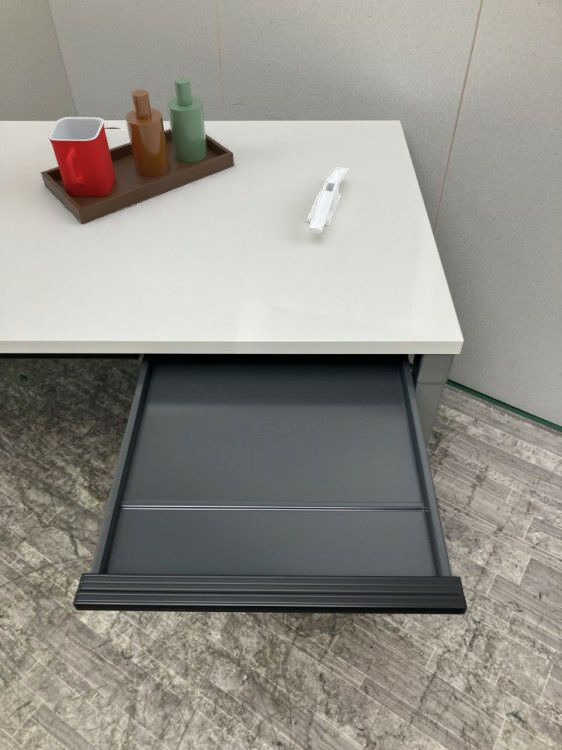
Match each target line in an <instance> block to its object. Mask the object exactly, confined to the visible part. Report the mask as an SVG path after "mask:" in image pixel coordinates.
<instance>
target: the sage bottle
mask: <svg viewBox="0 0 562 750" xmlns="http://www.w3.org/2000/svg"><path fill="white" fill-rule="evenodd" d="M173 82H174V89H175V96H173V97H172V98H170V99H169V100H168V101H167V102H166V103H167V104H166V105H167V113H168V120H169V127H170V128H169V129H171V135H172V143H173V150H174V156H175V158H176V159H177V160H179V161H182V162H197V161H200V160H202V159H204V158H205V157H206V156H207V146H206V135H207V134H206V124H205V116H204V105H203V104H204V103H203V100H202V99H201V98H200V97H199V96H195V95H192V94H193V93H192V84H191V78H189V77H188V76H187V77H186V76H180V77H176V78H174V80H173ZM205 134H206V135H205Z"/></svg>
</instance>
